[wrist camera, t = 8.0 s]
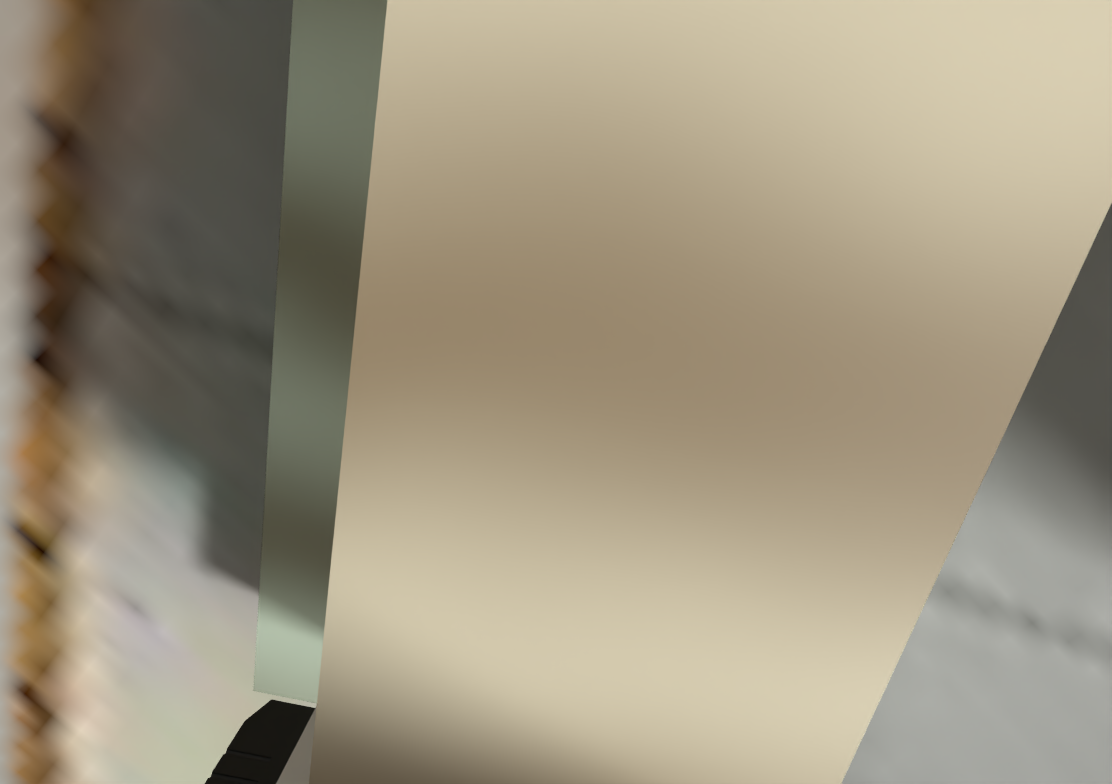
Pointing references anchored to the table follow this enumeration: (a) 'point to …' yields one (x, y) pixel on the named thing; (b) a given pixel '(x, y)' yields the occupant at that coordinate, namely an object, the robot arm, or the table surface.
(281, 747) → the robot arm
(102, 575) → the table surface
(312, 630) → the deck
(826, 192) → the maple beam
